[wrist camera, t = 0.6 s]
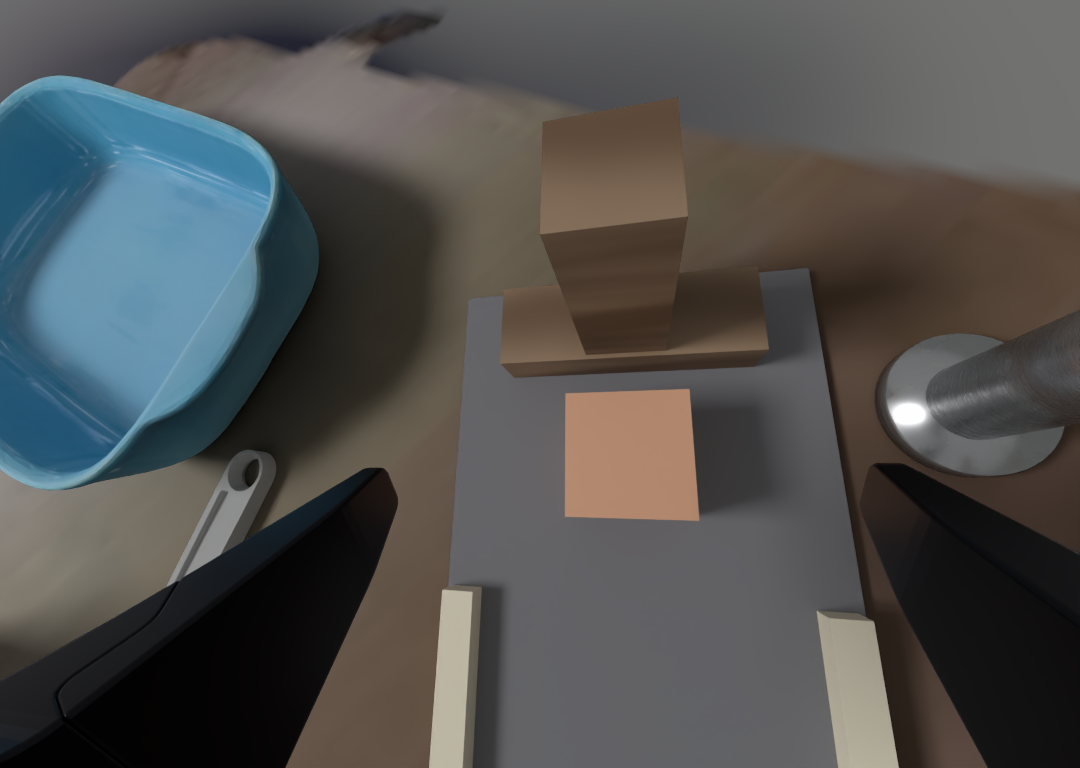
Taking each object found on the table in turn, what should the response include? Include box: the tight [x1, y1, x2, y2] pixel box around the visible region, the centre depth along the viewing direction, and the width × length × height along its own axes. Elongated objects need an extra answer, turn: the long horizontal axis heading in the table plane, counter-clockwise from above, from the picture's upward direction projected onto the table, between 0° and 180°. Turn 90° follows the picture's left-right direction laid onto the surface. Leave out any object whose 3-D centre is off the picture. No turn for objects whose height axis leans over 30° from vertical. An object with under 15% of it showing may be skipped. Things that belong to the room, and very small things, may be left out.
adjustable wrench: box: [166, 450, 276, 587], centre depth 23 cm, size 25×6×2 cm, turn 154°
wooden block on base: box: [500, 97, 769, 378], centre depth 17 cm, size 4×12×12 cm, turn 89°
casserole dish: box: [0, 76, 319, 490], centre depth 29 cm, size 37×22×7 cm, turn 63°
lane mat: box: [429, 268, 899, 768], centre depth 19 cm, size 25×18×2 cm
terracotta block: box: [565, 389, 699, 521], centre depth 19 cm, size 5×5×4 cm
